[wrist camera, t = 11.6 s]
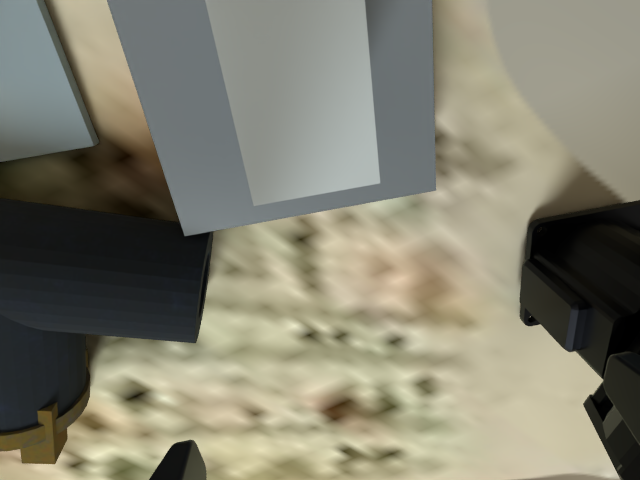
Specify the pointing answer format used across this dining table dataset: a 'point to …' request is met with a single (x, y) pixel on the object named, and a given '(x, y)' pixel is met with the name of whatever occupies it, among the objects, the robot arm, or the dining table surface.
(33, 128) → the slate mat
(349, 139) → the grey plug
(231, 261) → the dining table surface
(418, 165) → the header
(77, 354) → the pipe connector
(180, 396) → the dining table surface
